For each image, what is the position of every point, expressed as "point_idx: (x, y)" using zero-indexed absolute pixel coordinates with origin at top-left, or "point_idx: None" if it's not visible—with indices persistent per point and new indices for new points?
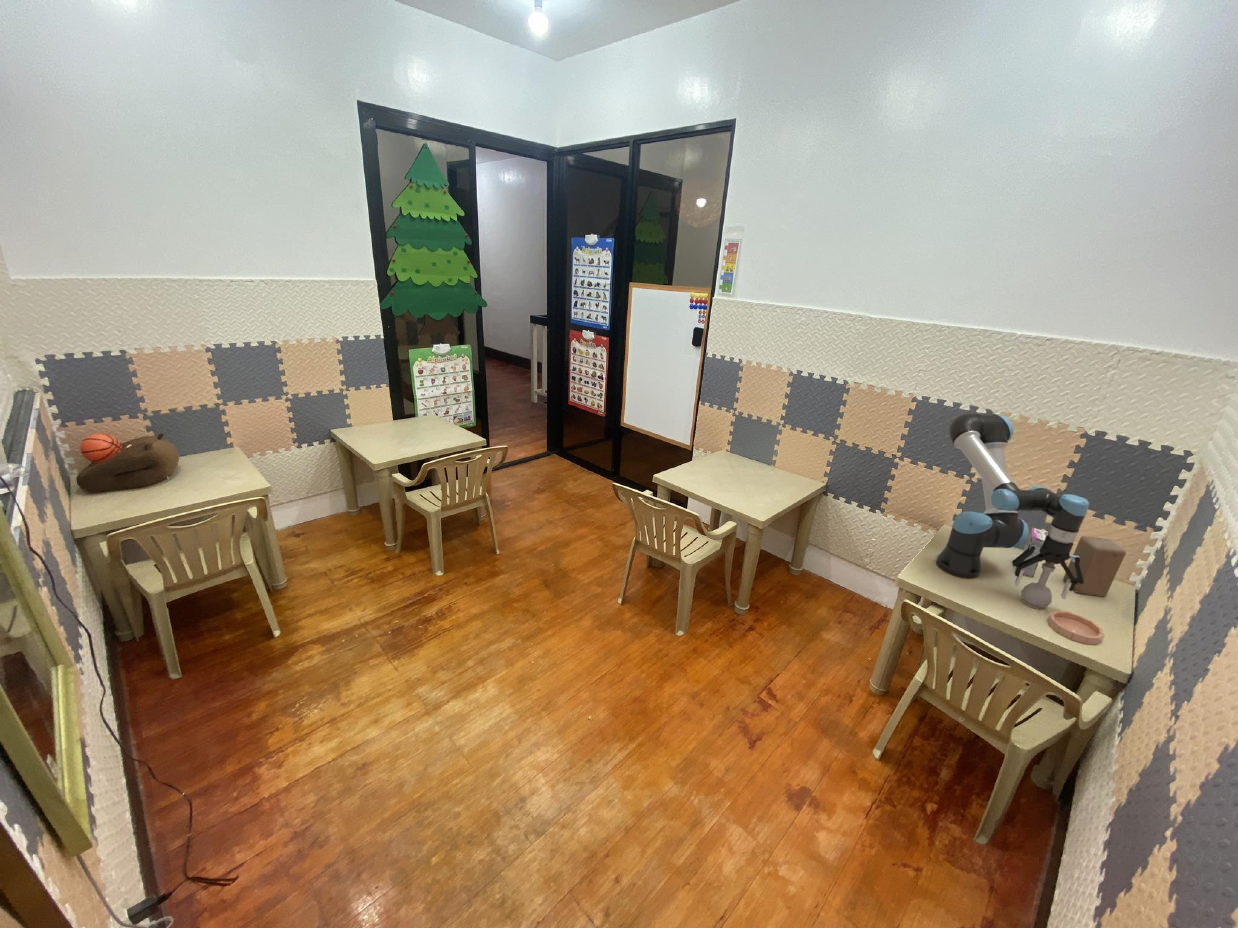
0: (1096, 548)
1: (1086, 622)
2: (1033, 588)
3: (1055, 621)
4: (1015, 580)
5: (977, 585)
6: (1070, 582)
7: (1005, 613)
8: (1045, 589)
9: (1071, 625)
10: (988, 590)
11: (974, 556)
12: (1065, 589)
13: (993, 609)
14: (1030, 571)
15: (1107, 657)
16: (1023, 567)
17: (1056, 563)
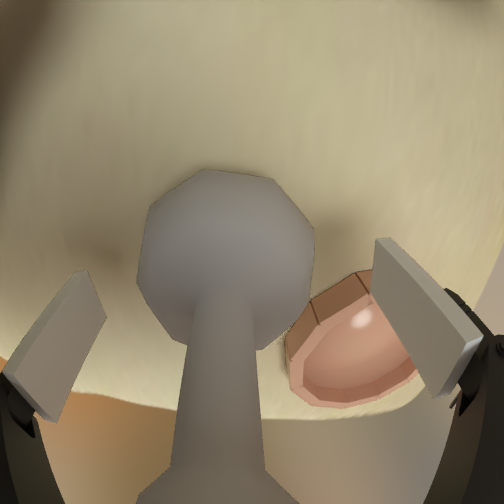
0: None
1: None
2: (184, 343)
3: (301, 393)
4: (69, 282)
5: (18, 248)
6: (451, 385)
7: (152, 381)
8: (261, 333)
9: (363, 337)
10: (50, 260)
11: None
12: (403, 327)
13: (119, 378)
14: None
15: (399, 391)
16: (38, 442)
17: None
